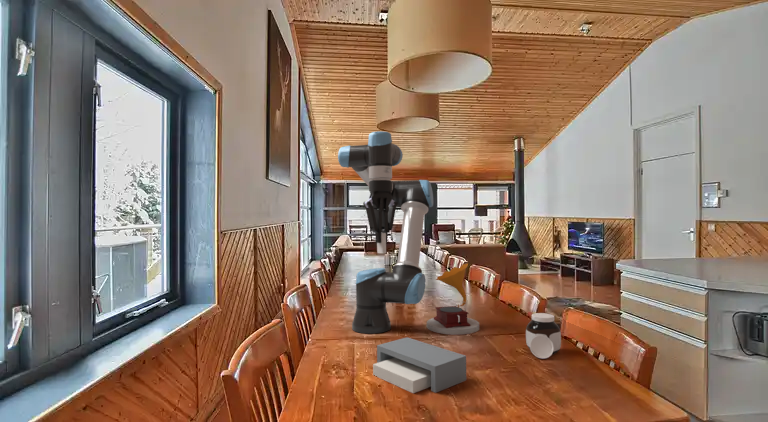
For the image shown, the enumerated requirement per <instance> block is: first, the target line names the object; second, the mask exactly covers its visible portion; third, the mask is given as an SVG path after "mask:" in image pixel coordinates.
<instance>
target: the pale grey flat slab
mask: <svg viewBox="0 0 768 422" xmlns="http://www.w3.org/2000/svg"><path fill="white" fill-rule="evenodd" d="M374 375H375V377H376V376H377V377H376V378H379V379H381V380H383V381H386V382H388V383H389V384H392V385H394V386H396V387H398V388H401V389H402V390H405V391H407V392H409V393H411V394H415V393H418V392H420V391H423V390H425V389H428V388H431V371H430V370H427V369H424V368H422V367H419V366H417V365H414V364H411V363H409V362H406V361H403V360H401V359H398V358H396V357H395V358H392V359H389V360H385V361H382V362H379V363H377V362H376V363H373V364H372V376H374Z"/></svg>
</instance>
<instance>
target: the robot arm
mask: <svg viewBox="0 0 768 422" xmlns="http://www.w3.org/2000/svg"><path fill="white" fill-rule="evenodd" d="M403 154H404V153H403V151H402V149H401V148H400V147H399V146H398V145H397V144H394V143H393V139H392V133H391V132H388V131H383V130H382V131H379V130H378V131H372V132H370V133H369V134H368V142H367V144H359V145H346V146H345V145H344V146H342V147H340V148H339V150H338V153H337V159H338V163H339V165H340V167H342V168H348V169H349V168H351V169H352V170H353V171H354V172H355V174H357V175H358V176H359V177H360V179H362V181H363V182H364V183H365V184H366V185H367V186H368V191H369V193H370V194H369V197H368V199H367V200H366V201H363V204H362V205H363V206H364V208H365V210H366V217H367V220H368V225H369V226H368V227H369V229H370V231H371V232H372V233H375V243H376V251H377V252H376V253H377V254H387V243H388V233H390V232H391V231H392V230H393V228H394V227H393V226H394V220H395V216H396V215H395V214H396V209H397V208H400V209H401V211H402V212H403V216H402V225H401V232H400V239H399V247H398V254H397V255H398V256H397V261H396V263H395V264H394V265H393V266H392V268H391V269H392V270H391V272H390V271H389V272H388V271H387V270H386V268H385V267H376V268H370V269H364V270H360V271H358V272H357V273H356V278H355V280H356V281H355V291H356V292H355V296H356V298H355V300H356V301H355V302H356V309H355V312H354V316H353V321H351V322H352V323H351V329H352V330H353V331H354V332H355V333H361V334H380V333H385V332H388V331H390V330H391V329H392V327H391V326H392V325H391V320H390V317H389V313H388V310H387V304H403V305H416V304H419V303H420V302H421V301H422V299H423V297H424V295H425V290H426V283H427V282H426V275H425V274H424V273H423V270H422V268H421V267H420V266H419V265H420V254H421V247H422V238H423V228H424V220H425V215H426V214H427V213H428V212H429V208H432V207H434V204H435V203H434V192H433V188H432V183H431V181H429V180H428V179H419V180H418V179H417V180H414V179H411V180H392V179H393V167H395V166H398V165H399V164H400V163H401V162H402V160H403V156H404V155H403Z"/></svg>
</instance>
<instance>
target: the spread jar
mask: <svg viewBox="0 0 768 422" xmlns="http://www.w3.org/2000/svg"><path fill="white" fill-rule="evenodd" d="M525 341H526V343H525V344H526V345H527V347H528V349H529V350H530V353H532V355H534V356H535V357H536V358H538V359H543V360H544V359H548V358H550V357H551V356H552V355H553V356H554V355H555V354H557V353H558V352H559V351H560V349H561V346H562V333H561V329H560V327H559V326H558V324H557V323H556V322H555V315H554V314H551V313H546V312H545V313H544V312H536V313H532V314H531V320H530V321H529V322H528V324H527V325H526V328H525Z"/></svg>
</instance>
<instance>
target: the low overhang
mask: <svg viewBox="0 0 768 422" xmlns="http://www.w3.org/2000/svg"><path fill="white" fill-rule="evenodd" d="M395 357H396V358H398V359H401V360H403V361H406V362H409V363H411V364H414V365H417V366H419V367H422V368H424V369H427V370H430V371H431V387H430V391H431V392H433V393H435V394H436V393H439V392H441V391H444V390H447V389H448V388H451V387H453V386H455V385H459V384H460V383H463V382H465V381H467V355H465V354H461V353H459V352H455V351H452V350H449V349H446V348H443V347H440V346H436V345H433V344H430V343H426V342H423V341H420V340H418V339H414V338H411V337H402V338H399V339H395V340H392V341H389V342H384V343H381V344H377V345H376V363H379V362H382V361H385V360H389V359H392V358H395Z"/></svg>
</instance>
